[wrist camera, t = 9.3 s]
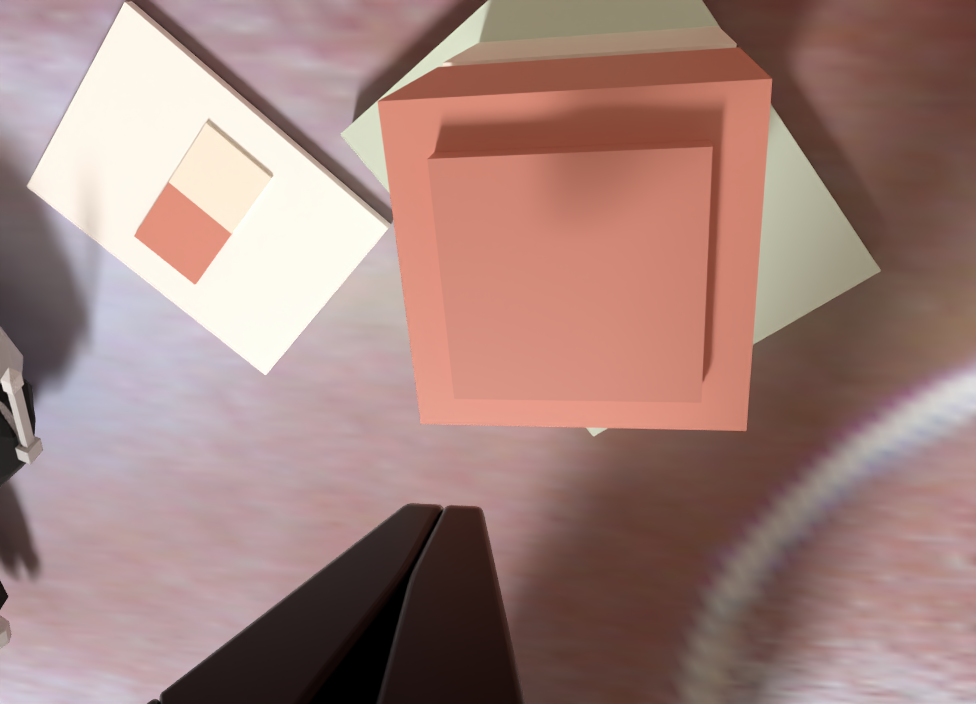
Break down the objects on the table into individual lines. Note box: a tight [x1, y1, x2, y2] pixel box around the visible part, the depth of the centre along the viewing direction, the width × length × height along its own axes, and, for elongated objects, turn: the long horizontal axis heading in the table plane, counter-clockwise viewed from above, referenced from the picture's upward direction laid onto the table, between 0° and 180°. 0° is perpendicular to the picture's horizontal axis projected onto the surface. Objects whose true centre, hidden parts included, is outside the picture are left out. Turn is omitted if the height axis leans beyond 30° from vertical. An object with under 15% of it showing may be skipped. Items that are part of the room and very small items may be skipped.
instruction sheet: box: [27, 1, 391, 375], centre depth 21 cm, size 8×6×1 cm
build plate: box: [340, 0, 881, 437], centre depth 19 cm, size 10×8×1 cm
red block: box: [377, 47, 772, 431], centre depth 13 cm, size 5×5×4 cm
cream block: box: [443, 26, 737, 67], centre depth 16 cm, size 5×5×4 cm
